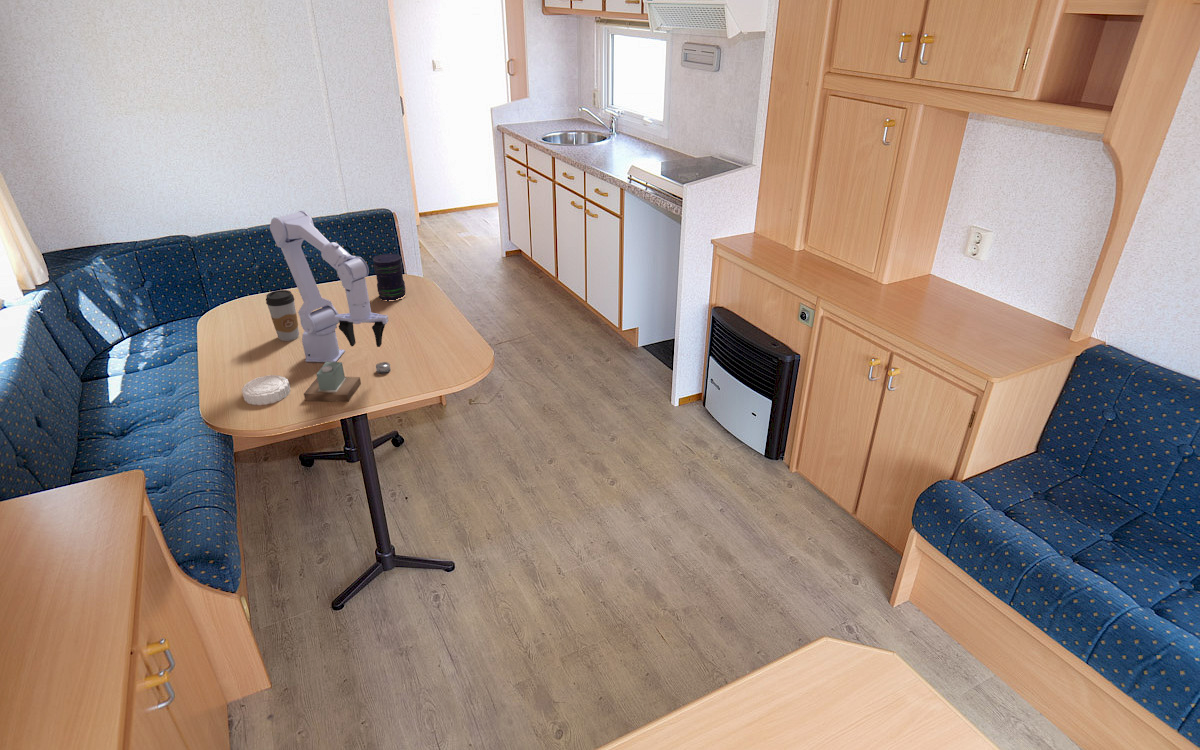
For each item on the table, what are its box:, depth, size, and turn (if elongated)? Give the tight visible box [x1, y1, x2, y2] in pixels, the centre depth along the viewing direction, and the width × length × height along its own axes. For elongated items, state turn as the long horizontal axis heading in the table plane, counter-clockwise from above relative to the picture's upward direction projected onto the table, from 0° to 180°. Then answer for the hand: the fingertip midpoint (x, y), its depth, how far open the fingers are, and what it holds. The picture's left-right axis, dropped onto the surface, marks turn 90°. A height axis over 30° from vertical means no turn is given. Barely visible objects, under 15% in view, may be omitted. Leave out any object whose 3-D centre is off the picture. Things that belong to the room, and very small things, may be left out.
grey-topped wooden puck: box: [375, 361, 391, 375], centre depth 203 cm, size 4×4×2 cm
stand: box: [303, 376, 362, 402], centre depth 192 cm, size 12×10×2 cm
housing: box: [315, 361, 346, 390], centre depth 190 cm, size 7×4×6 cm, turn 178°
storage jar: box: [372, 253, 406, 302], centre depth 250 cm, size 10×10×15 cm
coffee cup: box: [265, 289, 300, 342], centre depth 220 cm, size 8×8×15 cm
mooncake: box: [241, 374, 292, 406], centre depth 191 cm, size 12×12×4 cm
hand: (366, 345), depth 197 cm, fingers open, 7 cm apart
